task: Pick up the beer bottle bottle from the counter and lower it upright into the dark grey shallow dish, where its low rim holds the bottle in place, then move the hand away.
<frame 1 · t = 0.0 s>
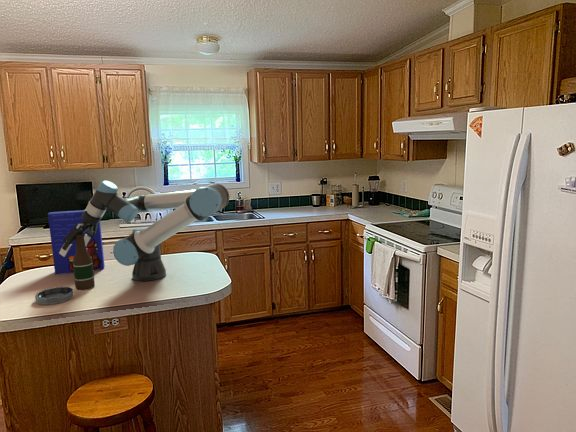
hand: (72, 250, 189), 15 cm above the countertop, tool tilted 35°, fingers open, 13 cm apart
beer bottle: (85, 288, 186), on the countertop
cereal box: (80, 270, 212), on the countertop
dark grey shallow dish: (55, 298, 173), on the countertop
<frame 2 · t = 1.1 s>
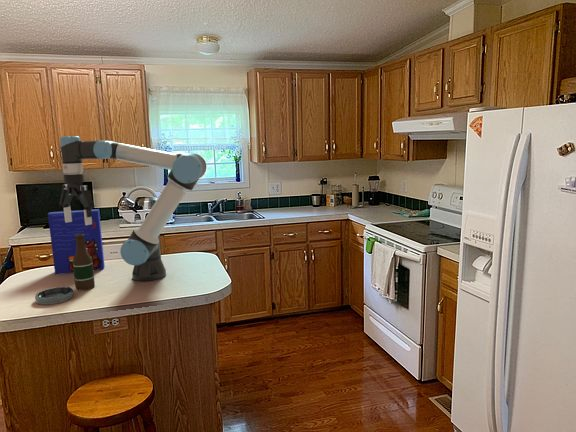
hand: (78, 223, 181), 29 cm above the countertop, tool pointing down, fingers open, 13 cm apart
nothing on the countertop moved.
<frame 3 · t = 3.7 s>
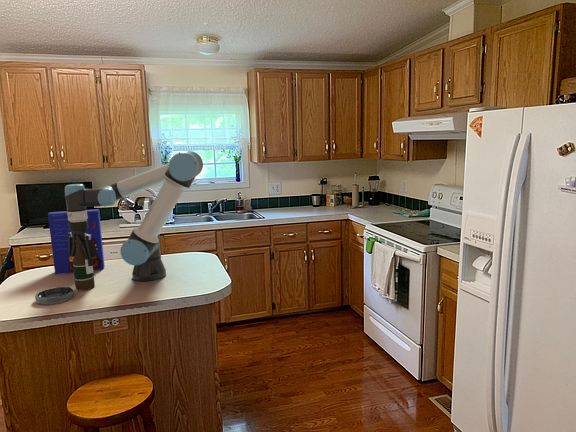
hand: (83, 271, 185), 7 cm above the countertop, tool pointing down, fingers closed on beer bottle, 8 cm apart
beer bottle: (85, 288, 186), on the countertop, touching gripper
everything else where it was.
when the fingers open (10 cm above the countertop, at t = 9.6 s): beer bottle drops 2 cm, resting on dark grey shallow dish.
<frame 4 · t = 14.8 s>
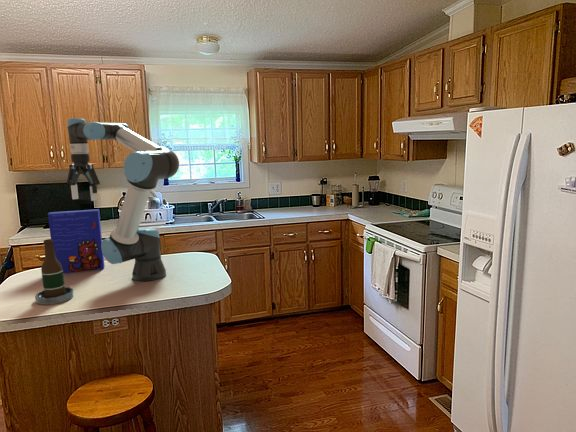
hand: (84, 199, 196), 37 cm above the countertop, tool pointing down, fingers open, 13 cm apart
beer bottle: (55, 297, 173), point 1 cm above the countertop, touching dark grey shallow dish
everything else where it was.
at the end: beer bottle 0.2 cm off-centre on the dark grey shallow dish, point 0.6 cm above the dark grey shallow dish's base; beer bottle tilted 0°; the gripper is holding nothing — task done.
